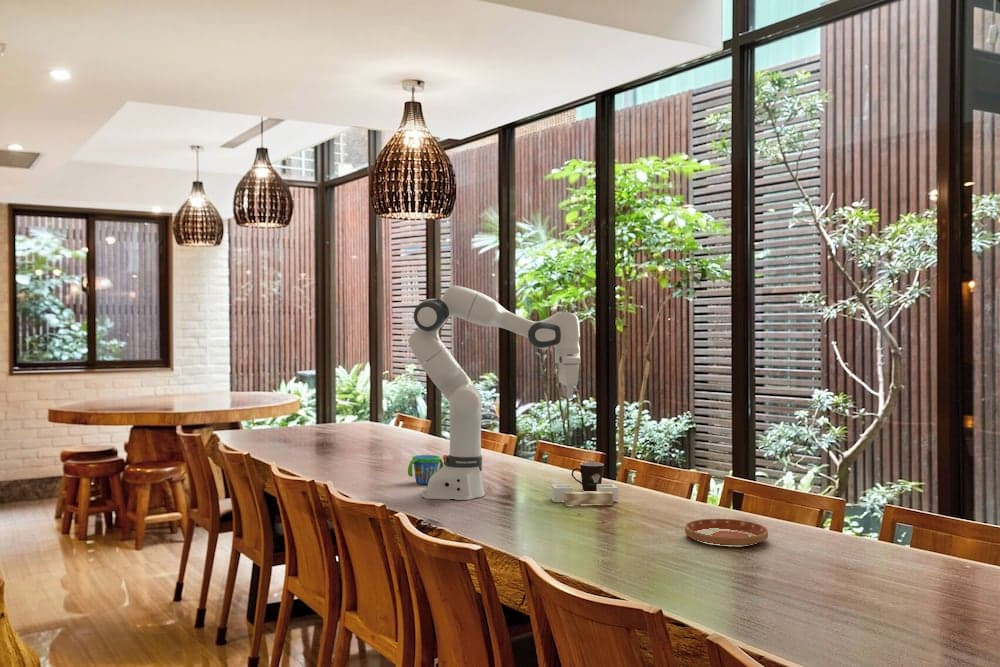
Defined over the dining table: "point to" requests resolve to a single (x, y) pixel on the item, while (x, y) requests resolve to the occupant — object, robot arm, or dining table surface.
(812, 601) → the dining table surface
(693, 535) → the saucer
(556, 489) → the endcaps
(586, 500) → the slat
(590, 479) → the coffee mug
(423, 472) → the snack cup
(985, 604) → the dining table surface
